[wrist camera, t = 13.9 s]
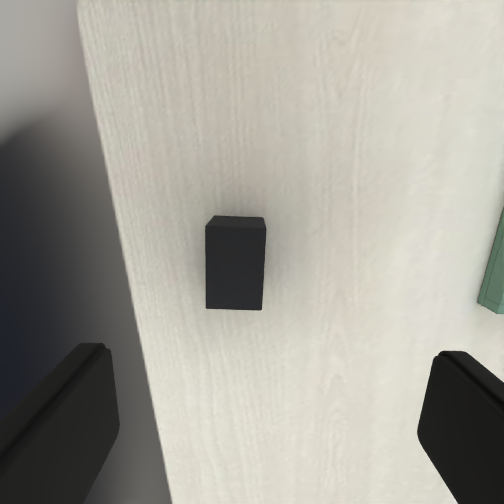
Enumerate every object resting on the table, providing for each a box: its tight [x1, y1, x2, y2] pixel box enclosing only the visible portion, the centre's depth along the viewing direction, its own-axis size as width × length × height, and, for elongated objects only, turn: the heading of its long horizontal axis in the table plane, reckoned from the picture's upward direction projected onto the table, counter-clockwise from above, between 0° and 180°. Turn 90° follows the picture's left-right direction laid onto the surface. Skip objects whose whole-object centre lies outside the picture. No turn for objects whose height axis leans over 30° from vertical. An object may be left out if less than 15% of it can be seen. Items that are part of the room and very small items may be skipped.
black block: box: [205, 216, 266, 310], centre depth 21 cm, size 6×4×4 cm, turn 178°
